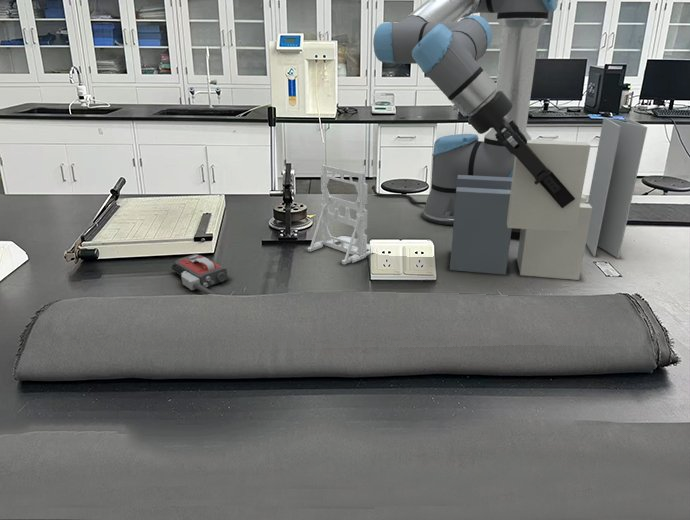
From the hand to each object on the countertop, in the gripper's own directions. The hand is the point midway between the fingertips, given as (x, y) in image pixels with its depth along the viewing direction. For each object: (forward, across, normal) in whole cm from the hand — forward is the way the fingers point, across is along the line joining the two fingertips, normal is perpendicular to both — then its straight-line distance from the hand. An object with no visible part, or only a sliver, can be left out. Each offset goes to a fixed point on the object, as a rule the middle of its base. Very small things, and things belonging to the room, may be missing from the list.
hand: (566, 200), depth 97 cm
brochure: (+25, -32, -3) cm, 41 cm away
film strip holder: (-18, -17, -46) cm, 52 cm away
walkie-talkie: (-35, +8, -64) cm, 73 cm away
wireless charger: (+12, -42, -16) cm, 47 cm away
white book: (+1, 0, -7) cm, 7 cm away
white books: (+15, -15, -14) cm, 25 cm away
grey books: (+4, -15, -24) cm, 29 cm away
